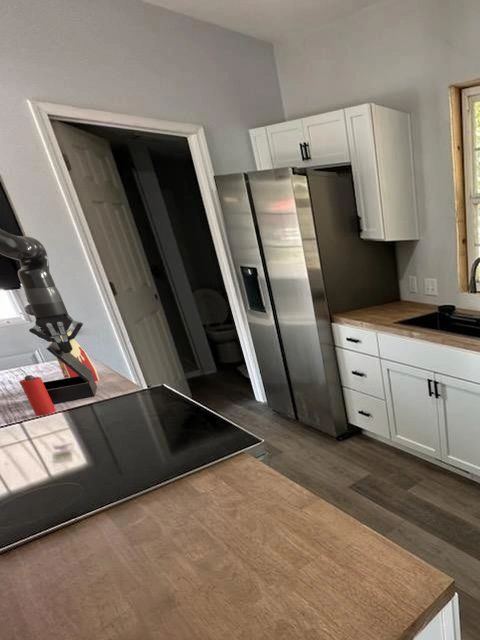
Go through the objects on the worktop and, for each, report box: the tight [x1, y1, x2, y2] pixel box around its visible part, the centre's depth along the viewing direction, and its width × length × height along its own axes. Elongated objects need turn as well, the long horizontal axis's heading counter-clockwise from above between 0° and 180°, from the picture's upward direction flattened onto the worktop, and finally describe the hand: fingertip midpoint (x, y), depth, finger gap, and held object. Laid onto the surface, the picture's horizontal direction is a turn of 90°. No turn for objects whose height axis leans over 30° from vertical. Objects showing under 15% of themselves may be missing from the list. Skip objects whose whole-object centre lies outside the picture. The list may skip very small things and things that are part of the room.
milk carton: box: [50, 330, 100, 382], centre depth 154 cm, size 9×9×20 cm
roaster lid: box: [46, 342, 92, 382], centre depth 140 cm, size 14×14×1 cm
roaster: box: [43, 375, 98, 406], centre depth 141 cm, size 14×14×6 cm
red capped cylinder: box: [19, 374, 57, 417], centre depth 127 cm, size 4×4×13 cm
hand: (67, 352), depth 139 cm, fingers closed
